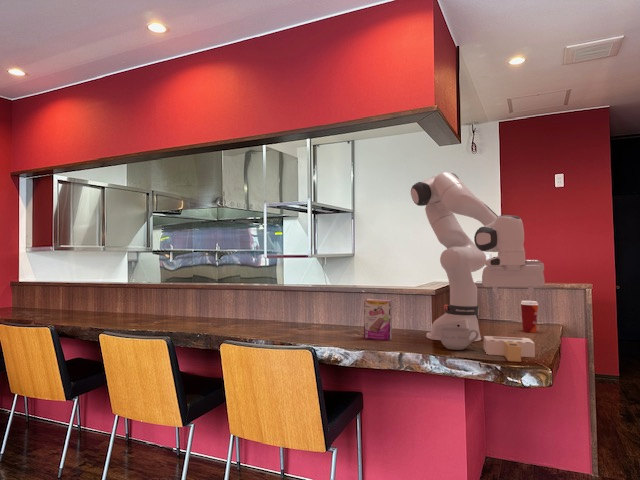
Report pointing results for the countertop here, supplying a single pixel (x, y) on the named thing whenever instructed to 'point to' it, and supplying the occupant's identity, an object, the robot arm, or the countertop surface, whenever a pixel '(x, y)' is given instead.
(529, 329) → the paper cup
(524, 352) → the ticket block
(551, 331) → the countertop surface
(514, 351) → the stub
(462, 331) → the teacup
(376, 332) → the candy bar box
